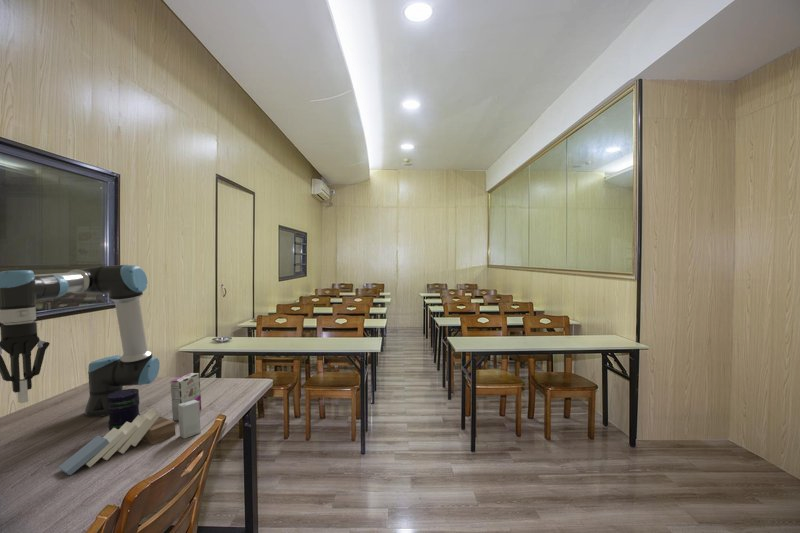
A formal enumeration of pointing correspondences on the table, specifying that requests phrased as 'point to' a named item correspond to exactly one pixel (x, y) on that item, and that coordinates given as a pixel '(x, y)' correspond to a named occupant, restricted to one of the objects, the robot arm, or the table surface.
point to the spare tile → (83, 455)
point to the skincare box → (189, 418)
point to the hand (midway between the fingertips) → (23, 401)
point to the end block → (160, 430)
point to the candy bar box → (185, 392)
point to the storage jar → (123, 407)
